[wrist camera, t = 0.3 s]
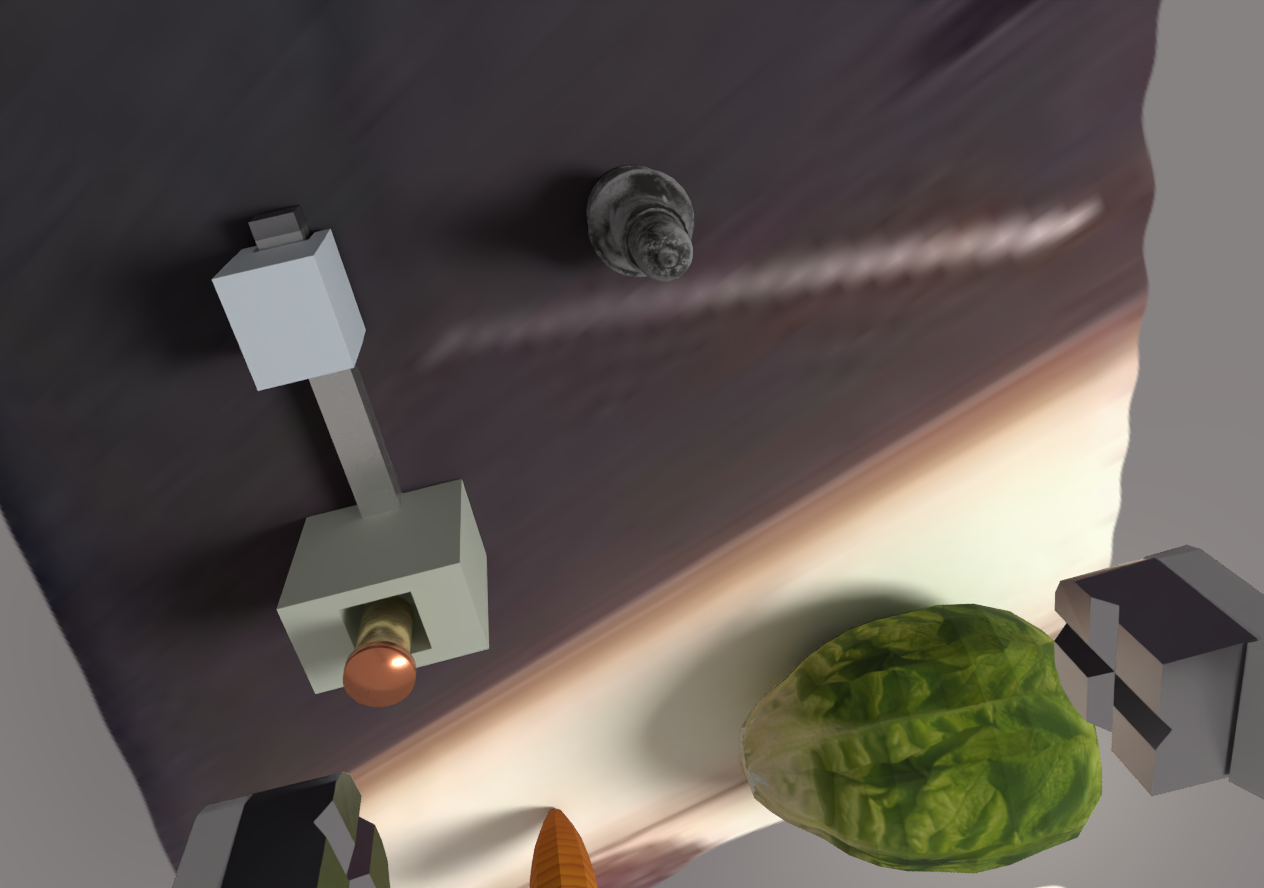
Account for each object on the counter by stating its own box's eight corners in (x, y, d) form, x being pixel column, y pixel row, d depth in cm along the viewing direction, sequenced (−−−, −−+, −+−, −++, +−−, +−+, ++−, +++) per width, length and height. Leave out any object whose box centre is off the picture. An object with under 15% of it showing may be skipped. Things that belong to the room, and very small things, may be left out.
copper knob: (346, 597, 51) (332, 661, 46) (409, 581, 51) (403, 642, 46) (367, 647, 52) (356, 714, 47) (428, 631, 53) (424, 696, 48)
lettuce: (705, 598, 66) (739, 823, 52) (1036, 532, 63) (1162, 751, 50) (743, 734, 76) (779, 950, 63) (1027, 682, 74) (1129, 896, 61)
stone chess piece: (607, 279, 54) (641, 343, 44) (563, 188, 52) (587, 233, 41) (696, 234, 54) (752, 288, 43) (656, 140, 51) (705, 174, 41)
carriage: (241, 249, 50) (211, 279, 44) (331, 228, 50) (313, 255, 44) (281, 350, 53) (258, 390, 47) (366, 330, 53) (354, 367, 47)
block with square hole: (300, 518, 58) (268, 611, 49) (461, 478, 58) (459, 562, 49) (332, 594, 60) (308, 695, 51) (486, 555, 61) (488, 648, 52)
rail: (256, 215, 50) (248, 222, 48) (299, 204, 50) (293, 212, 48) (366, 502, 58) (362, 518, 56) (403, 493, 58) (400, 508, 56)
